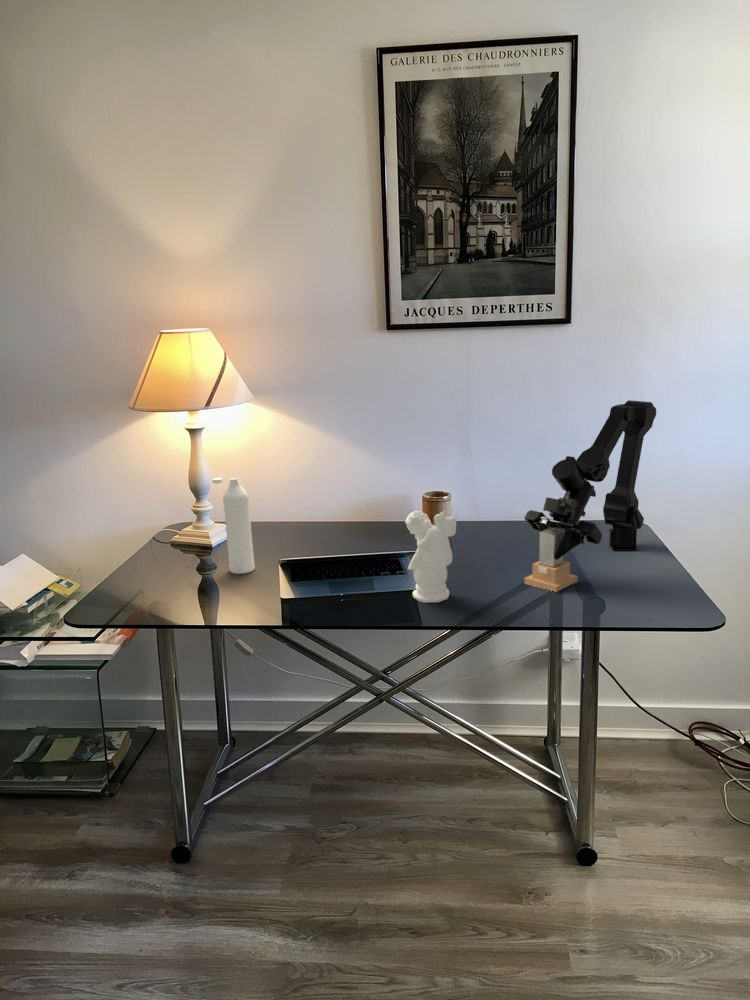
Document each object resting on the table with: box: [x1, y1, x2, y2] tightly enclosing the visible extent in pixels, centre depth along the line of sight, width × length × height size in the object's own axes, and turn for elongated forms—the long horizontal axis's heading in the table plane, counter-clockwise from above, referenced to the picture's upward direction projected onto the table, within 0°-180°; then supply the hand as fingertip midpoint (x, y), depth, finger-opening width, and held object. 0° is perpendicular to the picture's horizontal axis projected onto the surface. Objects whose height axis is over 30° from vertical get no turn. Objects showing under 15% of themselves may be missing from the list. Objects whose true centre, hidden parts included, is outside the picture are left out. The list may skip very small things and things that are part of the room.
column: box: [538, 528, 565, 568], centre depth 189 cm, size 4×4×11 cm
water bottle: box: [212, 477, 256, 575], centre depth 206 cm, size 9×6×25 cm
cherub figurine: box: [404, 510, 457, 604], centre depth 184 cm, size 12×12×22 cm
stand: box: [523, 560, 579, 593], centre depth 190 cm, size 9×9×5 cm
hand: (548, 556), depth 188 cm, fingers closed on column, 4 cm apart
